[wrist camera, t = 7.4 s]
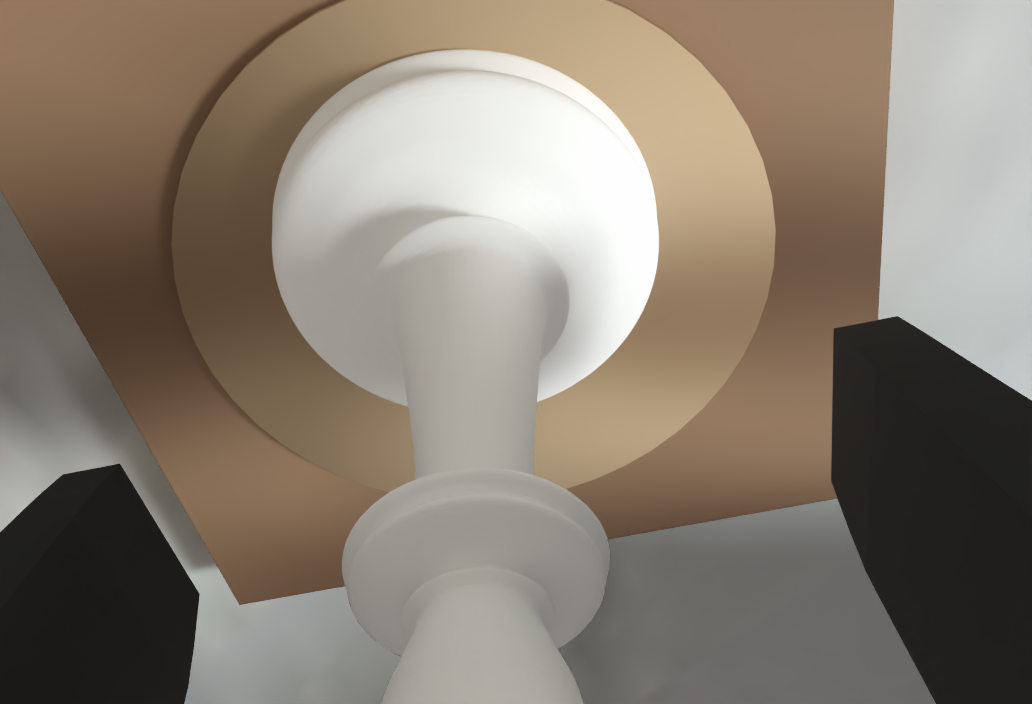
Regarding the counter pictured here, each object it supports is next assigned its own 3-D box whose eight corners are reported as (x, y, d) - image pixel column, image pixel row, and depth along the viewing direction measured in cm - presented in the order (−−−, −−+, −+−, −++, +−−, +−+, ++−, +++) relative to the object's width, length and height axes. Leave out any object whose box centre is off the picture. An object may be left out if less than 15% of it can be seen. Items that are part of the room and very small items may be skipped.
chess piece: (400, 436, 14) (327, 1516, 5) (191, 165, 11) (-560, 1482, 3) (707, 303, 13) (1182, 1395, 4) (559, -32, 10) (1074, 1158, 2)
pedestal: (847, 453, 16) (873, 501, 15) (249, 561, 17) (237, 613, 16) (870, -299, 10) (917, -300, 9) (-95, -75, 10) (-152, -53, 9)
